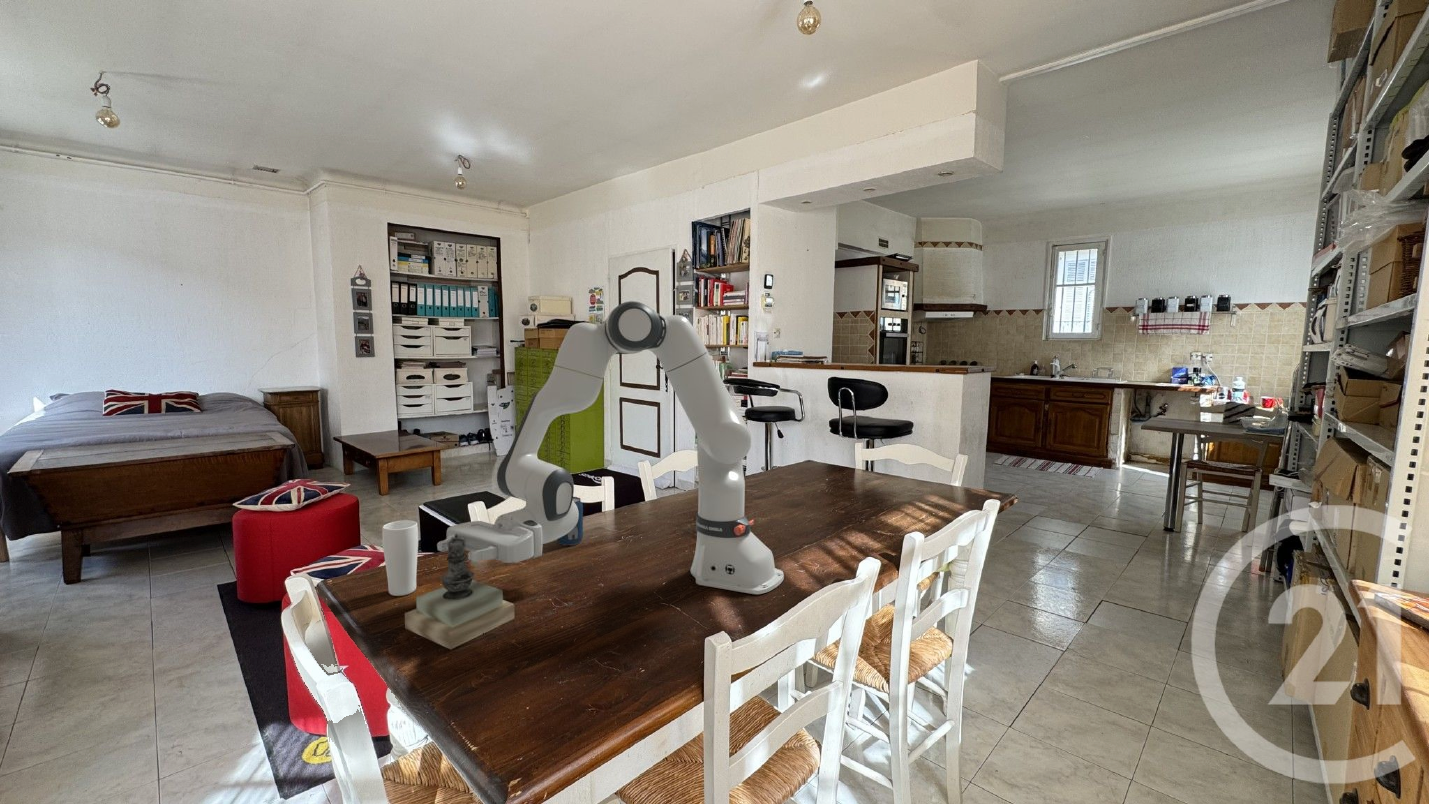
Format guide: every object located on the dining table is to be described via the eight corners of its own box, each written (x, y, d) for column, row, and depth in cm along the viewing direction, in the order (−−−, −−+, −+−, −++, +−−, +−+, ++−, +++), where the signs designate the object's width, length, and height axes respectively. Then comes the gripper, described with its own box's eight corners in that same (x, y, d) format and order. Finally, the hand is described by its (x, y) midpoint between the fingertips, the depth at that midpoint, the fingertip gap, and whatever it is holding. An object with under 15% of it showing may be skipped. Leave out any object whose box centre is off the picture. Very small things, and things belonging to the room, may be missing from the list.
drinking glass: (384, 600, 122) (381, 531, 121) (385, 588, 128) (382, 522, 127) (420, 594, 126) (417, 527, 124) (419, 583, 131) (417, 518, 130)
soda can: (570, 536, 165) (569, 494, 163) (588, 540, 161) (588, 498, 160) (551, 543, 159) (551, 500, 157) (570, 548, 155) (569, 504, 154)
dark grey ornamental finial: (447, 588, 115) (445, 529, 114) (478, 587, 116) (476, 528, 115) (436, 601, 109) (434, 539, 108) (469, 600, 110) (467, 538, 109)
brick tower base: (514, 618, 116) (513, 589, 115) (450, 649, 104) (449, 617, 103) (469, 601, 123) (468, 573, 122) (405, 628, 111) (404, 598, 110)
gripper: (481, 510, 128) (421, 526, 116) (546, 526, 117) (488, 546, 106) (481, 538, 129) (422, 557, 117) (547, 557, 118) (489, 580, 106)
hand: (454, 552), depth 111 cm, fingers open, 8 cm apart
